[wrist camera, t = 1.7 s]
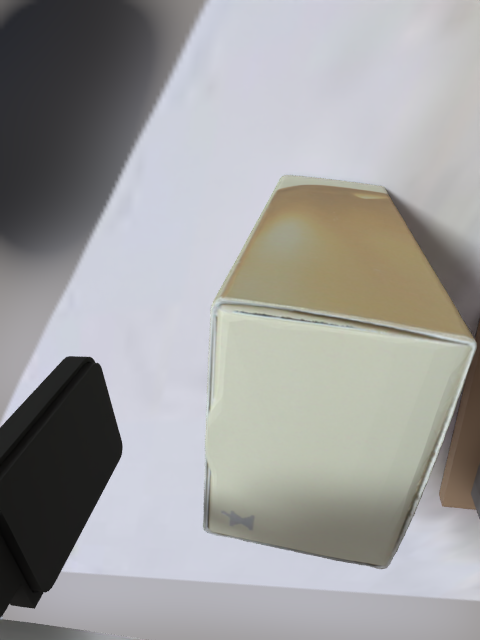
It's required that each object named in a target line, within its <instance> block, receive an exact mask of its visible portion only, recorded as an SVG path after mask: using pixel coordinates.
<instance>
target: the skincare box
mask: <svg viewBox="0 0 480 640" xmlns="http://www.w3.org/2000/svg"><path fill="white" fill-rule="evenodd" d="M210 314H211V318H210V338H209V358H208V383H207V409H206V435H205V480H204V521H203V528H204V530H205V531H206V532H207V533H210V534H214V535H217V536H224V537H230V538H235V539H240V540H243V541H247V542H252V543H256V544H261V545H266V546H271V547H275V548H280V549H285V550H291V551H294V552H299V553H303V554H308V555H313V556H318V557H323V558H327V559H332V560H336V561H342V562H347V563H354V564H359V565H366V566H370V567H374V568H378V569H385V568H387V567H388V566H389V565H390V563H391V561H392V559H393V557H394V555H395V553H396V552H397V550H398V548H399V545H400V543H401V541H402V539H403V537H404V536H405V533H406V531H407V529H408V527H409V525H410V522H411V520H412V517H413V516H414V514H415V511H416V508H417V506H418V504H419V501H420V499H421V497H422V494H423V491H424V489H425V486H426V484H427V482H428V479H429V476H430V474H431V471H432V469H433V466H434V464H435V461H436V459H437V456H438V454H439V451H440V448H441V446H442V443H443V441H444V438H445V435H446V432H447V430H448V427H449V425H450V422H451V419H452V417H453V414H454V411H455V408H456V405H457V401H458V399H459V397H460V394H461V391H462V388H463V385H464V382H465V379H466V376H467V373H468V371H469V368H470V365H471V362H472V359H473V356H474V354H475V351H476V349H477V343H476V341H475V339H474V338H473V336H472V334H471V332H470V331H469V329H468V327H467V326H466V324H465V323H464V321H463V319H462V318H461V316H460V314H459V312H458V310H457V309H456V307H455V305H454V304H453V302H452V300H451V299H450V297H449V295H448V294H447V292H446V290H445V289H444V287H443V286H442V284H441V282H440V281H439V279H438V277H437V275H436V274H435V272H434V270H433V269H432V267H431V265H430V264H429V262H428V261H427V259H426V257H425V255H424V254H423V252H422V250H421V249H420V247H419V245H418V244H417V242H416V240H415V238H414V237H413V235H412V233H411V232H410V230H409V228H408V227H407V225H406V223H405V221H404V220H403V218H402V217H401V215H400V213H399V212H398V210H397V208H396V207H395V205H394V203H393V201H392V200H391V198H390V196H389V194H388V193H387V191H386V189H385V188H384V187H382V186H377V185H370V184H363V183H356V182H347V181H340V180H332V179H323V178H314V177H304V176H293V175H285V176H282V177H281V178H280V180H279V182H278V184H277V186H276V188H275V189H274V191H273V193H272V195H271V197H270V199H269V200H268V202H267V204H266V206H265V208H264V210H263V212H262V213H261V215H260V217H259V219H258V221H257V222H256V224H255V226H254V228H253V230H252V232H251V233H250V235H249V237H248V239H247V241H246V243H245V245H244V246H243V248H242V250H241V252H240V254H239V256H238V257H237V259H236V261H235V263H234V265H233V267H232V268H231V270H230V272H229V274H228V276H227V277H226V279H225V281H224V283H223V285H222V286H221V288H220V290H219V292H218V294H217V296H216V297H215V299H214V301H213V304H212V306H211V310H210Z"/></svg>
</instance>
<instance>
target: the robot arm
mask: <svg viewBox="0 0 480 640" xmlns="http://www.w3.org/2000/svg"><path fill="white" fill-rule="evenodd" d="M121 455H122V441H121V437H120V434H119V430H118V426H117V423H116V419H115V415H114V412H113V408H112V404H111V401H110V397H109V393H108V390H107V386H106V382H105V379H104V375H103V372H102V368H101V366H100V365H99V364H98V363H95V361H94V360H93V358H91V357H73V356H69V357H66V358H65V359H64V360H63V361H62V362H61V363H60V364H59V365H58V366H57V367H56V368H55V369H54V370H53V371H52V372H51V374H50V375H49V376H48V377H47V378H46V379H45V380H44V381H43V382H42V383H41V384H40V385H39V386H38V388H37V389H36V390H35V391H34V392H33V393H32V394H31V395H30V396H29V397H28V398H27V399H26V400H25V402H24V403H23V404H22V405H21V406H20V407H19V408H18V409H17V410H16V411H15V412H14V413H13V414H12V416H11V417H10V418H9V419H8V420H7V421H6V422H5V423H4V424H3V425H2V426H1V427H0V640H147V639H140V638H133V637H126V636H119V635H112V634H105V633H98V632H91V631H84V630H78V629H71V628H64V627H56V626H49V625H43V624H36V623H28V622H20V621H11V620H3V616H2V615H3V613H4V612H5V610H6V609H7V607H8V605H9V604H11V605H13V606H20V607H27V608H35V607H36V605H37V603H38V601H39V600H40V598H41V596H42V594H43V592H47V591H49V590H50V589H51V588H52V586H53V585H54V583H55V581H56V579H57V578H58V576H59V574H60V572H61V570H62V568H63V566H64V564H65V562H66V560H67V559H68V557H69V555H70V553H71V551H72V549H73V547H74V545H75V543H76V541H77V540H78V538H79V536H80V534H81V532H82V530H83V528H84V526H85V524H86V522H87V521H88V519H89V517H90V515H91V513H92V511H93V509H94V507H95V505H96V504H97V502H98V500H99V498H100V496H101V494H102V492H103V490H104V488H105V486H106V485H107V483H108V481H109V479H110V477H111V475H112V473H113V471H114V469H115V467H116V466H117V464H118V462H119V460H120V458H121Z"/></svg>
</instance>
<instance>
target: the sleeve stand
mask: <svg viewBox="0 0 480 640" xmlns="http://www.w3.org/2000/svg"><path fill="white" fill-rule="evenodd" d="M475 341H476V343H477V349H476V351H475V354H474V356H473V359H472V362H471V365H470V368H469V371H468V373H467V376H466V380H465V384H464V389H463V393H462V397H461V402H460V406H459V410H458V415H457V419H456V423H455V428H454V432H453V436H452V441H451V445H450V449H449V453H448V458H447V462H446V466H445V471H444V475H443V479H442V484H441V488H440V492H439V496H440V500H441V503H442V506H444V507H454V508H464V509H474V510H477V513H478V516H479V519H480V320H479V324H478V328H477V333H476V337H475Z"/></svg>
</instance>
